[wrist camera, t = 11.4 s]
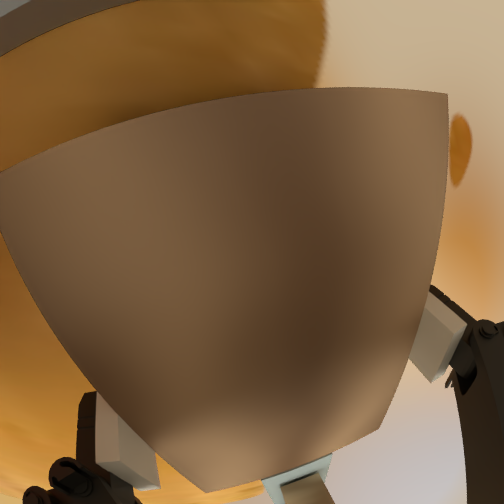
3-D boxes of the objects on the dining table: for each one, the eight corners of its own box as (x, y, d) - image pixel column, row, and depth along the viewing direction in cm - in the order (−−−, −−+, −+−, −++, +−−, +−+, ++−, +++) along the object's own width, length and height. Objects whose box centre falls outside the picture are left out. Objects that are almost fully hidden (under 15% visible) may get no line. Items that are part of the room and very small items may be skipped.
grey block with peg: (246, 431, 25) (294, 546, 14) (220, 363, 19) (288, 544, 8) (284, 418, 26) (340, 528, 15) (274, 346, 20) (366, 512, 9)
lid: (197, 463, 13) (205, 493, 11) (24, 161, 5) (-17, 181, 3) (362, 404, 15) (378, 428, 13) (395, 89, 7) (447, 93, 5)
